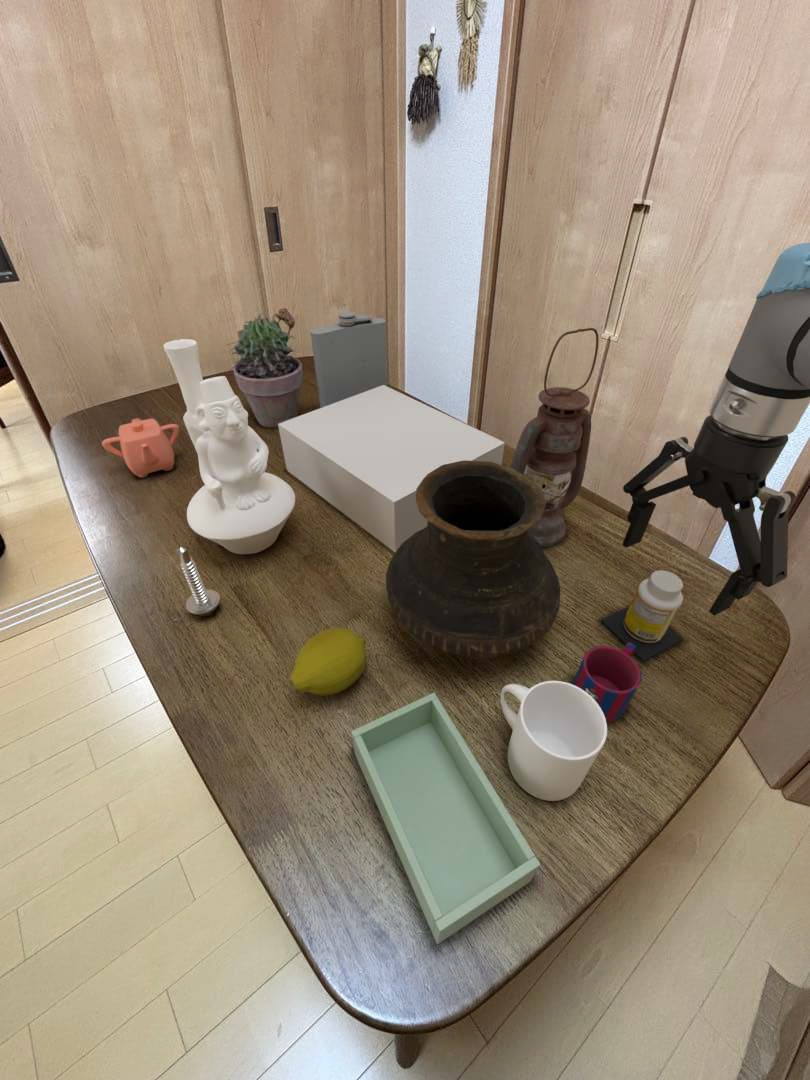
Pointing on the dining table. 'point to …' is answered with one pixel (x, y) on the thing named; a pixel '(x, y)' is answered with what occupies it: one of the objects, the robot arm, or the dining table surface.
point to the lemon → (329, 662)
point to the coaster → (642, 649)
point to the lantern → (556, 450)
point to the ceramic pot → (475, 563)
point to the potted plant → (268, 370)
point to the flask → (349, 357)
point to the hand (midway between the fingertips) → (671, 574)
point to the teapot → (144, 446)
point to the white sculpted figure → (228, 462)
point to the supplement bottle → (654, 606)
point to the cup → (609, 678)
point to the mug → (553, 737)
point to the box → (379, 457)
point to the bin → (442, 815)
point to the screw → (197, 588)
